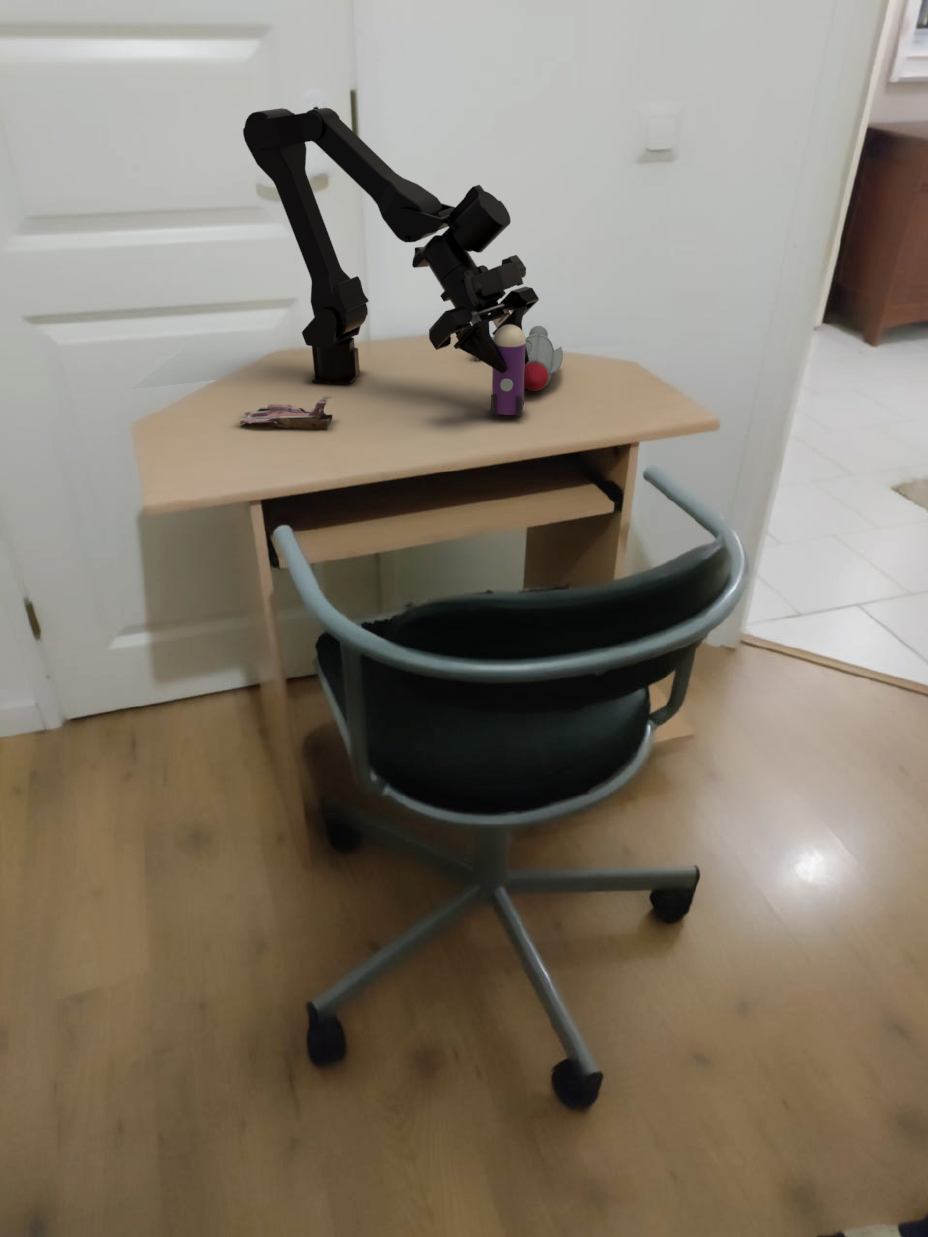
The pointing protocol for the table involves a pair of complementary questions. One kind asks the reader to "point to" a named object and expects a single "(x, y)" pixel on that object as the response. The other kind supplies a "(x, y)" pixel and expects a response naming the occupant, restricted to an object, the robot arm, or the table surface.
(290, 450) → the table surface
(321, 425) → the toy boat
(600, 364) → the table surface
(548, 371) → the toy ray gun
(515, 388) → the toy rocket
